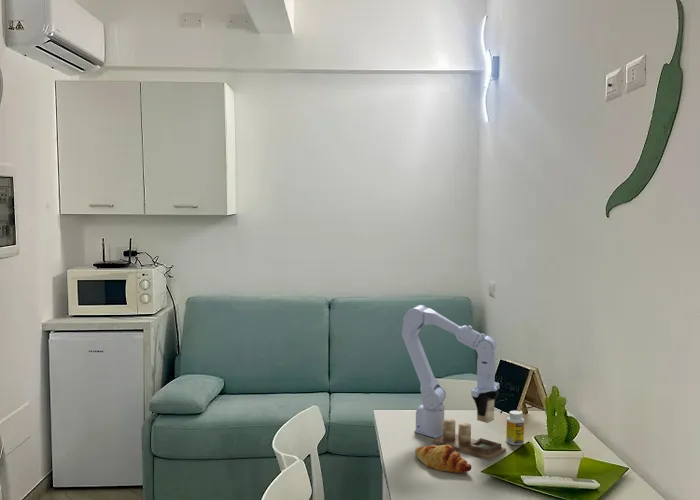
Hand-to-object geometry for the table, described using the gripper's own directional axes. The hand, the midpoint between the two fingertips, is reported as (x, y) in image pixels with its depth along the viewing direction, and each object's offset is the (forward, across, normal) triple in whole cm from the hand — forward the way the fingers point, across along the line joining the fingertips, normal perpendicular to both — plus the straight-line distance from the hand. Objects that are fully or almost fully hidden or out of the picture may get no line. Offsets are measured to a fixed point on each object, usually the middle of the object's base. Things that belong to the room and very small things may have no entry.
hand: (485, 413), depth 217 cm
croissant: (+9, -27, -2) cm, 29 cm away
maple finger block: (+2, 0, 0) cm, 2 cm away
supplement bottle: (+9, +5, -9) cm, 13 cm away
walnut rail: (+9, -9, 0) cm, 13 cm away
